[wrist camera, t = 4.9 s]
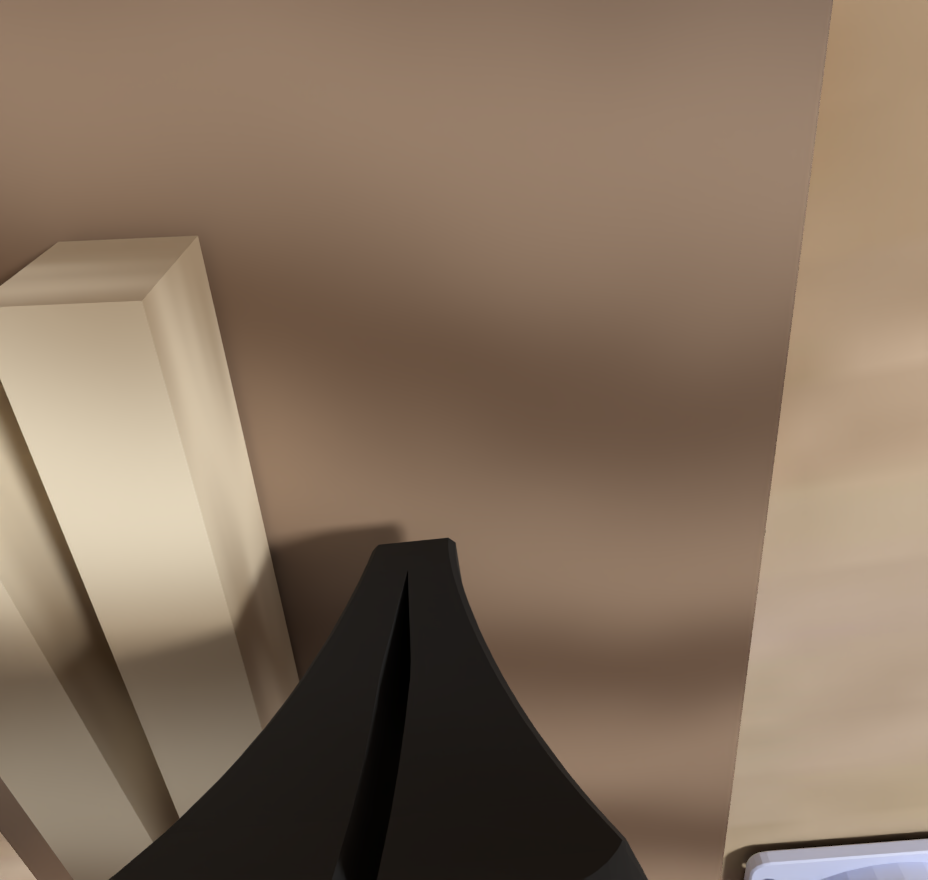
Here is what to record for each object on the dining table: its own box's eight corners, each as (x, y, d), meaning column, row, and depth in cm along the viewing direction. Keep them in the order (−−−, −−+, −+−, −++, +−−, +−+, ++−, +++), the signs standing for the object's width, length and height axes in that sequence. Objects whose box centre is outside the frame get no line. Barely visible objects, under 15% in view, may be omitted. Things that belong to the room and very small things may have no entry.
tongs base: (703, 902, 24) (740, 1043, 21) (125, 945, 24) (80, 1087, 21) (822, -185, 10) (995, -245, 7) (-540, 0, 10) (-949, 23, 7)
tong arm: (322, 784, 18) (306, 890, 16) (236, 788, 18) (210, 894, 16) (197, 235, 11) (141, 301, 9) (58, 241, 11) (-29, 308, 9)
